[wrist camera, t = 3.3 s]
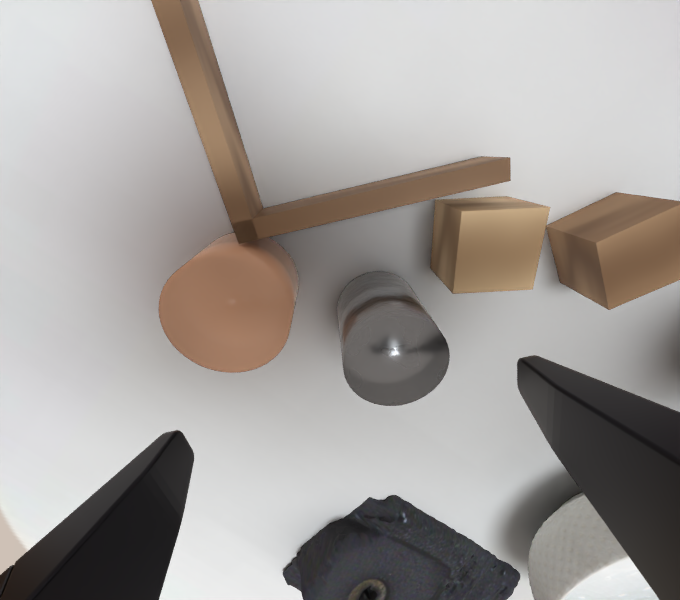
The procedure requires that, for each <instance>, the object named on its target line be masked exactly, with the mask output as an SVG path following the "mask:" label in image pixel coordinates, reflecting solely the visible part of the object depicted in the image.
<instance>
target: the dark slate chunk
mask: <svg viewBox="0 0 680 600" xmlns="http://www.w3.org/2000/svg"><path fill="white" fill-rule="evenodd" d="M283 576H284V578H285V580H286V582H287V584H288V585H291V586H293V587H295V588H297V589H298V590H300V591H301V592H302V597H303V600H507V599H508V598H509V597H510V596H511V595H512V593H513V591H514V588H515V587H516V586H517V584H518V581H519V580H520V573H519V572H518V571H517V570H516V569H513V568H512V566H511V565H510V564H508V563H506V562H503V561H501V560H499V559H497V558H496V556H495V555H493V554H491V553H490V552H489V551H487V550H484V549H483V548H482V547H481V546H479V545H478V544H476V543H475V542H474V541H472V540H471V539H468V538H467V537H466V536H464V535H462V534H460V533H456V531H455V530H454V529H451V528H450V527H448V526H447V525H446V524H444V523H441V522H440V521H438V520H436V519H435V518H433V517H431V516H429V515H427V514H426V513H424V512H423V511H421V510H420V509H417V508H416V507H414V506H413V505H412V504H411V503H409V502H407V501H404V500H403V499H401V498H400V497H398V496H396V495H395V496H390V497H387V499H386V500H384V501H382V500H376V499H373V498H371V497H369V498H368V499H367V500H366V501H365V502H364V503H363V504H361V505H360V506H359V507H357V508H356V509H355V510H353V511H352V512H351V513H350V514H349V515H347V516H346V517H345V518H343V519H340V520H338V521H334V522H332V523H330V524H328V525H327V526H326V527H324V528H323V529H322V530H320V531H319V532H318V533H317V534H316V535H315V536H313V537H312V538H311V539H310V540H309V541H307V542H306V543H305V544H304V545H303V546H302V548H301V552H299V553H297V557H296V558H295V559H294V560H292V565H291V566H289V567H288V568H287V569H286V571H284V572H283Z"/></svg>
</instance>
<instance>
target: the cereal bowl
mask: <svg viewBox="0 0 680 600" xmlns="http://www.w3.org/2000/svg"><path fill="white" fill-rule="evenodd" d="M528 572H529V573H528V575H529V581H530V586H531V589H532V594H533V597H534V599H535V600H659V598H658V597H657V596H656V594H655V593H654V591H653V590H652V589H651V587H650V586H649V584H648V583H647V582H646V580H645V579H644V577H643V576H642V575H641V573H640V572H639V570H638V569H637V567H636V566H635V565H634V563H633V562H632V560H631V559H630V558H629V556H628V555H627V553H626V552H625V551H624V549H623V548H622V546H621V545H620V544H619V542H618V541H617V539H616V538H615V537H614V535H613V534H612V532H611V531H610V530H609V528H608V527H607V525H606V524H605V523H604V521H603V520H602V518H601V517H600V516H599V514H598V513H597V511H596V510H595V509H594V507H593V506H592V504H591V503H590V502H589V500H588V499H587V497H586V496H585V495H584V493H583V492H582V493H580V494H577V495H575V496H574V497H572V498H571V499H569V500H568V501H566V502H565V503H564V504H563V505H562V506H561V507H560V508H559V509H558V510H557V511H556V512H554V513H553V514H552V515H551V516H550V517H549V518H548V519H547V520H546V521H545V522H544V523H543V525H542V526H541V527H540V528H539V529H538V532H537V533H536V534H535V536H534V539H533V540H532V545H531V547H530V551H529V559H528Z"/></svg>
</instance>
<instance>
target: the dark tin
mask: <svg viewBox="0 0 680 600" xmlns="http://www.w3.org/2000/svg"><path fill="white" fill-rule="evenodd" d="M337 314H338V323H339V333H340V342H341V351H342V360H343V370H344V375H345V378H346V381H347V383H348V384H349V386H350V388H351V389H352V390H353V391H354V392H355V393H356V394H357V395H358V396H360V397H361V398H363V399H365V400H367V401H369V402H371V403H374V404H379V405H385V406H396V405H403V404H407V403H411V402H414V401H416V400H418V399H420V398H422V397H424V396H426V395H427V394H428V393H430V392H431V391H432V390H433V389H435V387H436V386H437V385H438V384H439V383H440V382H441V380H442V379H443V377H444V375H445V373H446V371H447V368H448V364H449V348H448V344H447V342H446V339H445V338H444V336H443V335H442V333H441V332H440V330H439V329H438V327H437V326H436V324H435V323H434V321H433V320H432V318H431V317H430V315H429V314H428V312H427V311H426V309H425V308H424V306H423V305H422V303H421V302H420V301H419V299H418V298H417V296H416V295H415V293H414V292H413V290H412V289H411V287H410V286H409V285H408V283H407V282H406V281H405V280H403V279H402V278H401V277H399V276H397V275H395V274H392V273H389V272H381V271H377V272H370V273H366V274H363V275H361V276H359V277H357V278H355V279H354V280H352V281H351V282H350V283H349V284H348V285H347V286H346V287H345V289H344V290H343V291H342V293H341V295H340V298H339V300H338V305H337Z"/></svg>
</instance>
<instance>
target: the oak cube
mask: <svg viewBox="0 0 680 600" xmlns="http://www.w3.org/2000/svg"><path fill="white" fill-rule="evenodd" d="M549 210H550V207H548V206H543V205H539V204H535V203H531V202H527V201H523V200H519V199H515V198H511V197H507V196H505V197H484V198H463V199H442V200H435V213H434V226H433V239H432V252H431V266H430V268H431V270H432V271H433V272H434V273H435V274H436V275H437V276H438V277H439V279H440V280H441V281H442V282H443V283H444V284H445V285H446V286H447V288H448V289H449V290H450V291H451V292H452V293H453V294H456V293H475V292H494V291H512V290H531V289H533V285H534V280H535V276H536V271H537V266H538V262H539V257H540V252H541V248H542V243H543V238H544V233H545V229H546V224H547V219H548V215H549Z"/></svg>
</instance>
